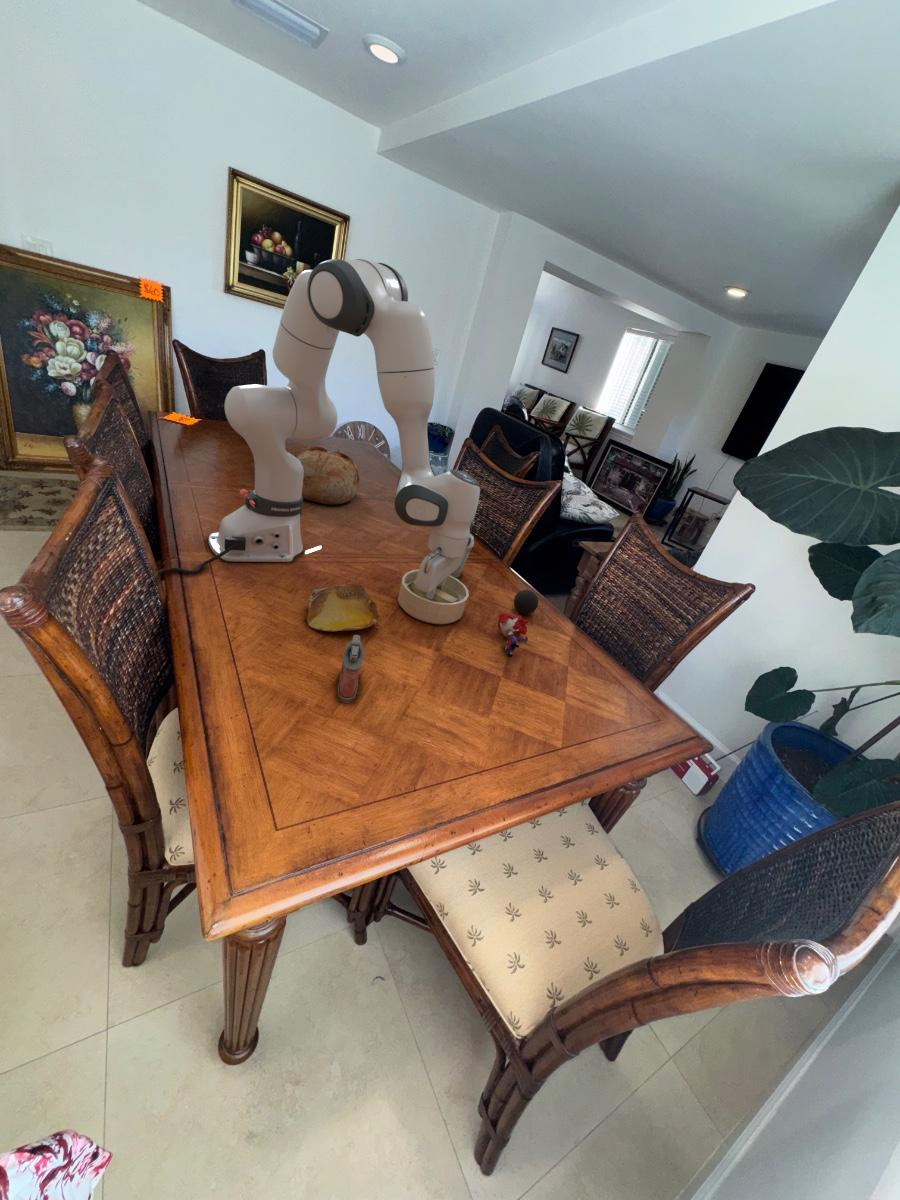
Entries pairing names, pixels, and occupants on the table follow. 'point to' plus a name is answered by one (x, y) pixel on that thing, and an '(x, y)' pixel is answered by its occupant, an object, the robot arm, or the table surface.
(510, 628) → the figurine
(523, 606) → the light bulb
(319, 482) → the bread
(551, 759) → the table surface
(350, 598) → the brown yellow irregular block
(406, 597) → the bowl
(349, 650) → the lighter
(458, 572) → the coffee cup
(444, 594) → the stick
